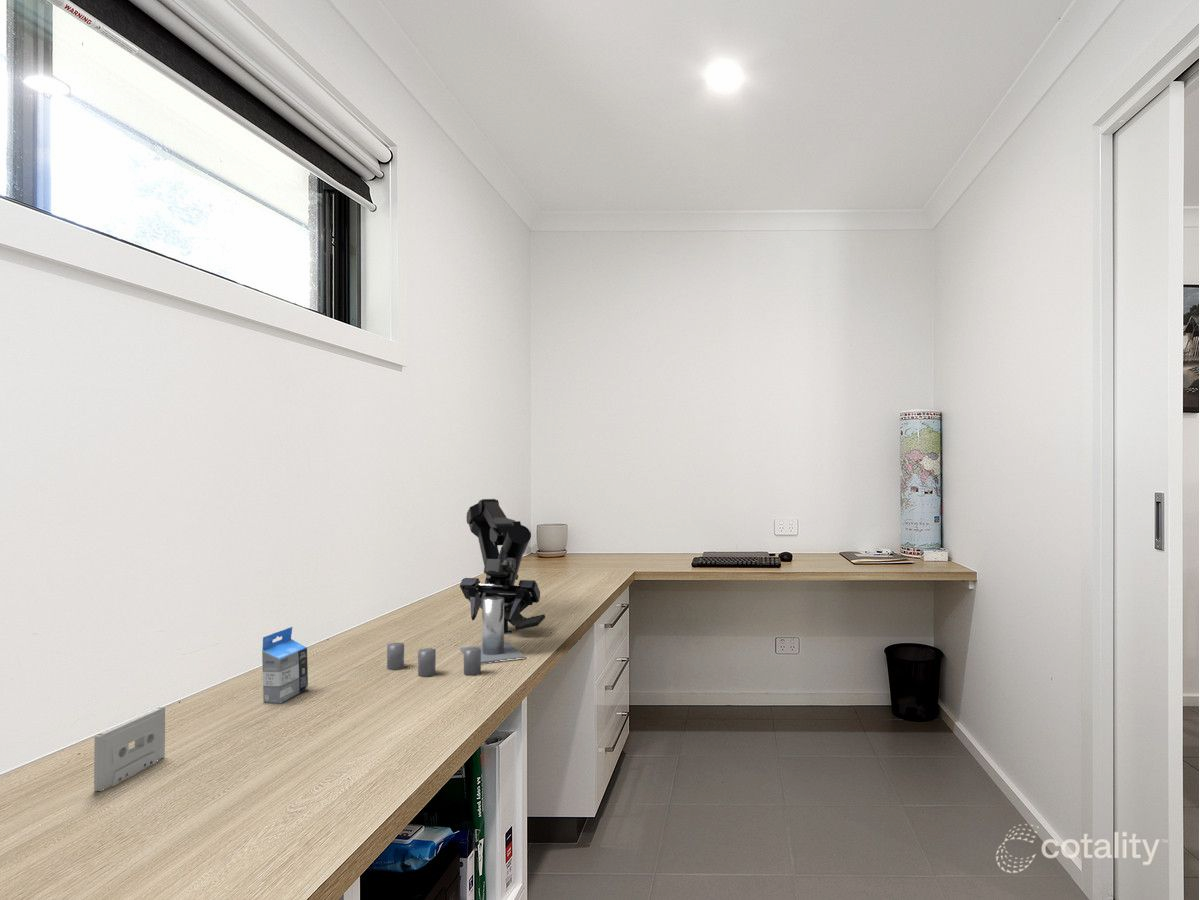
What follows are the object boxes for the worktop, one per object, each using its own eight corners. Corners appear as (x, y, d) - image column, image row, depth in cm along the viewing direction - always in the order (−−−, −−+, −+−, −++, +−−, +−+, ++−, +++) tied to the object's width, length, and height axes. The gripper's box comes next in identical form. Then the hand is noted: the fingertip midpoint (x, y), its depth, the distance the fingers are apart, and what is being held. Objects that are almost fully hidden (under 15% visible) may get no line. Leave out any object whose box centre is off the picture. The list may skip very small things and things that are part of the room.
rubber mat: (460, 649, 173) (460, 647, 173) (508, 644, 177) (508, 642, 177) (473, 664, 160) (473, 662, 160) (525, 659, 164) (525, 656, 164)
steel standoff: (480, 650, 170) (480, 597, 170) (500, 648, 172) (500, 595, 172) (485, 655, 165) (485, 601, 166) (506, 653, 167) (506, 599, 167)
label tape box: (280, 704, 134) (280, 637, 134) (261, 703, 135) (261, 636, 135) (308, 689, 142) (309, 627, 143) (290, 688, 143) (290, 626, 143)
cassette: (157, 756, 110) (157, 706, 110) (168, 757, 110) (168, 706, 110) (90, 792, 98) (90, 735, 98) (102, 793, 98) (102, 736, 98)
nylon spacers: (392, 664, 160) (392, 642, 160) (483, 671, 155) (483, 647, 155) (376, 673, 153) (376, 649, 154) (470, 680, 148) (470, 655, 148)
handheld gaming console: (535, 636, 183) (538, 622, 183) (495, 625, 185) (498, 611, 185) (543, 627, 194) (546, 614, 194) (505, 616, 195) (509, 604, 195)
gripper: (463, 544, 175) (443, 598, 164) (536, 546, 171) (521, 602, 160) (475, 572, 182) (457, 625, 172) (546, 574, 178) (532, 629, 167)
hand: (491, 620), depth 167 cm, fingers open, 9 cm apart
